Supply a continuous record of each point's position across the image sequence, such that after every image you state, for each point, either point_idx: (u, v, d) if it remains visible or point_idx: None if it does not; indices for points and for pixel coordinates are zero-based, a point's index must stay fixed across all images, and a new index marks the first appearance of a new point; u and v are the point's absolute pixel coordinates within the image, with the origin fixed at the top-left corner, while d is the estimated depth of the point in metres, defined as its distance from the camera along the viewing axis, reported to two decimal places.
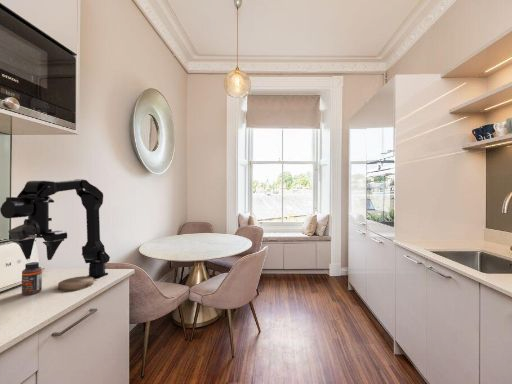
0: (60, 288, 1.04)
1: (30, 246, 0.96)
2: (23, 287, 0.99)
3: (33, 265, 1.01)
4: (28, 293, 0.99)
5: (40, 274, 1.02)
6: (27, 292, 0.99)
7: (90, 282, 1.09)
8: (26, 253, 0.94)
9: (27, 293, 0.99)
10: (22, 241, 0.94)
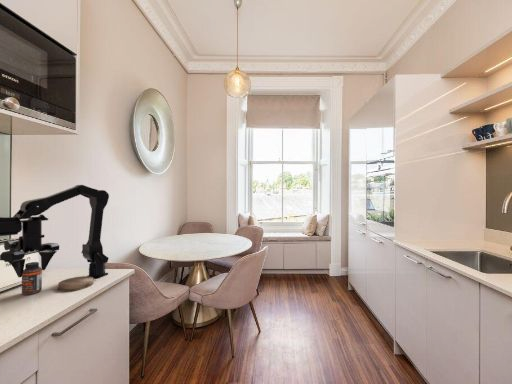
0: (60, 288, 1.04)
1: (46, 259, 1.06)
2: (23, 287, 0.99)
3: (33, 265, 1.01)
4: (28, 293, 0.99)
5: (40, 274, 1.02)
6: (27, 292, 0.99)
7: (90, 282, 1.09)
8: (41, 264, 1.06)
9: (27, 293, 0.99)
10: (41, 253, 1.07)
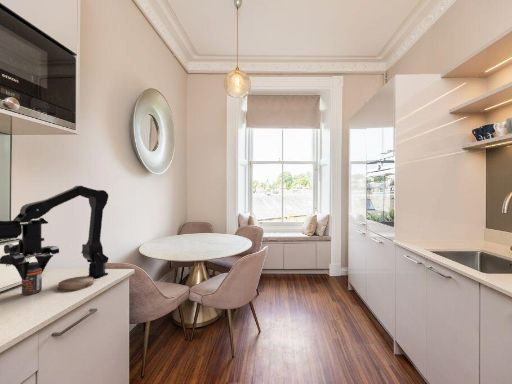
0: (60, 288, 1.04)
1: (42, 263, 1.05)
2: (23, 287, 0.99)
3: (33, 265, 1.01)
4: (28, 293, 0.99)
5: (40, 274, 1.02)
6: (27, 292, 0.99)
7: (90, 282, 1.09)
8: None
9: (27, 293, 0.99)
10: (37, 257, 1.06)
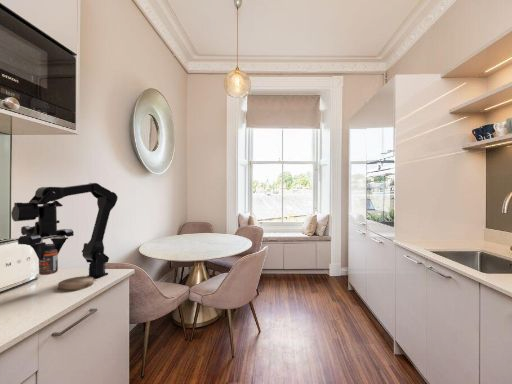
0: (60, 288, 1.04)
1: (58, 245, 1.08)
2: (40, 267, 1.02)
3: (49, 246, 1.03)
4: (45, 273, 1.02)
5: (56, 255, 1.05)
6: (44, 272, 1.02)
7: (90, 282, 1.09)
8: None
9: (44, 273, 1.02)
10: (53, 239, 1.08)
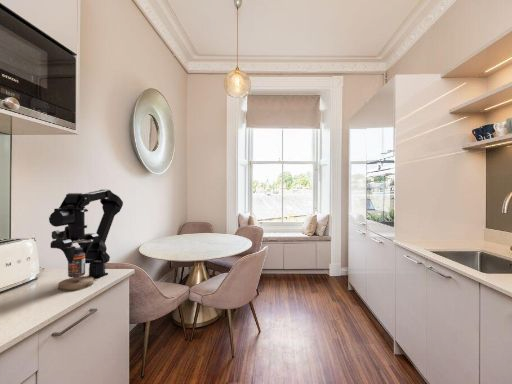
0: (60, 288, 1.04)
1: (85, 249, 1.12)
2: (70, 270, 1.06)
3: (78, 250, 1.08)
4: (74, 275, 1.06)
5: (84, 258, 1.10)
6: (73, 275, 1.06)
7: (90, 282, 1.09)
8: None
9: (73, 275, 1.06)
10: (80, 243, 1.13)
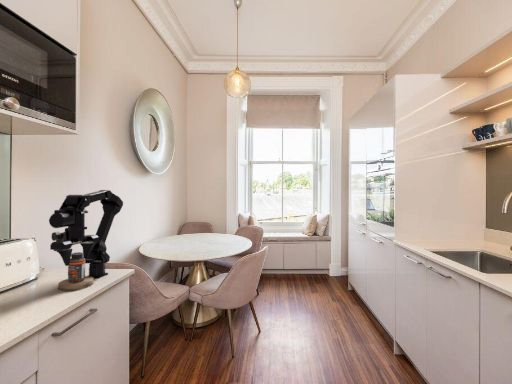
0: (60, 288, 1.04)
1: (87, 250, 1.14)
2: (70, 275, 1.06)
3: (78, 255, 1.08)
4: (74, 281, 1.06)
5: (84, 264, 1.10)
6: (73, 280, 1.06)
7: (90, 282, 1.09)
8: (83, 255, 1.14)
9: (73, 280, 1.06)
10: (83, 244, 1.14)
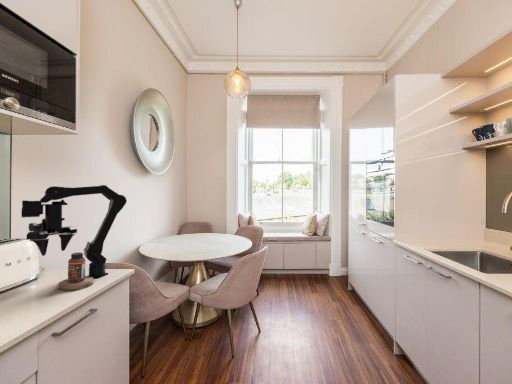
0: (60, 288, 1.04)
1: (65, 241, 1.16)
2: (69, 275, 1.06)
3: (78, 255, 1.08)
4: (74, 281, 1.06)
5: (84, 264, 1.10)
6: (73, 280, 1.06)
7: (90, 282, 1.09)
8: (61, 245, 1.16)
9: (73, 280, 1.06)
10: (61, 235, 1.17)
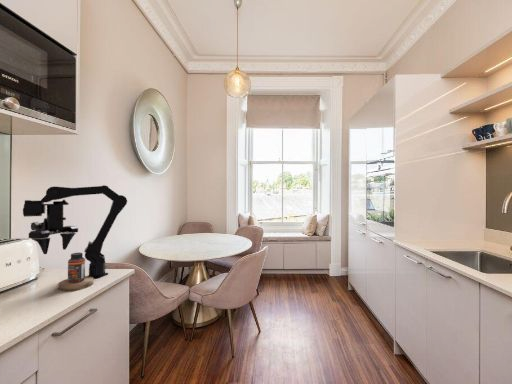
0: (60, 288, 1.04)
1: (67, 240, 1.18)
2: (69, 275, 1.06)
3: (78, 255, 1.08)
4: (74, 281, 1.06)
5: (84, 264, 1.10)
6: (73, 280, 1.06)
7: (90, 282, 1.09)
8: (63, 244, 1.18)
9: (73, 281, 1.06)
10: (62, 234, 1.19)
